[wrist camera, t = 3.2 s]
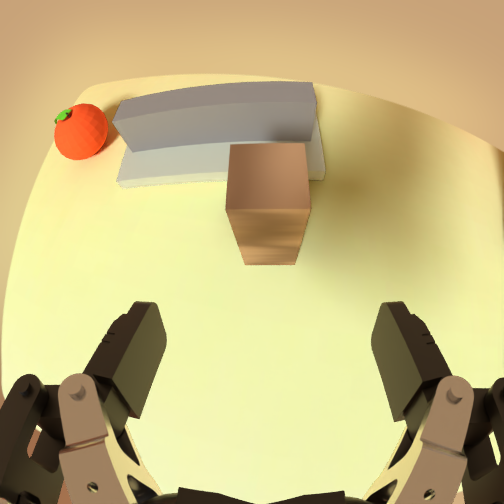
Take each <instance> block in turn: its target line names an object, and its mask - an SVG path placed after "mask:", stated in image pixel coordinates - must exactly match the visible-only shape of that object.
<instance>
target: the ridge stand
mask: <svg viewBox="0 0 504 504" xmlns="http://www.w3.org/2000/svg"><path fill="white" fill-rule="evenodd" d="M316 105H317V102H316V97H315V93H314V88H313V84H312V82H285V81H271V82H241V83H227V84H216V85H206V86H198V87H190V88H183V89H177V90H171V91H165V92H160V93H155V94H150V95H145V96H140V97H136V98H132V99H128V100H124V101H121V103H120V105H119V107H118V110H117V112H116V114H115V116H114V118H113V121H112V123H113V124H114V126H115V127H116V129H117V130H118V132H119V133H120V135H121V136H122V138H123V139H124V141H125V142H126V144H127V148H126V151H125V154H124V157H123V160H122V163H121V167H120V170H119V174H118V177H117V181H116V182H117V183H118V184H119V185H120V186H121V187H122V189H126V188H135V187H145V186H155V185H167V184H180V183H195V182H212V181H227V180H228V166H229V154H230V144H254V143H305V151H306V160H307V169H308V179H309V180H323V179H324V176H325V172H326V169H325V162H324V156H323V149H322V143H321V137H320V131H319V126H318V120H317V115H316Z"/></svg>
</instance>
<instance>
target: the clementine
mask: <svg viewBox="0 0 504 504" xmlns="http://www.w3.org/2000/svg"><path fill="white" fill-rule="evenodd" d="M57 119H59V120H58V123H57ZM55 123H56V124H57V125H56V128H55V135H54V137H55V143H56V147H57V148H58V150H59V151H60V153H61V154H62V155H64V156H65V157H67V158H69V159H72V160H83V159H87V158H89V157H91V156H92V155H94V154H95V153H96V152H97V151H98V150H99V149H100V148H101V147H102V146H103V144H104V142H105V140H106V137H107V133H108V122H107V119H106V117H105V115H104V113H103V112H102V111H101V110H100V109H99V108H98V107H96V106H94V105H92V104H79V105H75V106H73V107H71V108H69V109H68V110H64V111H62V112H61V113H60V114H59V115H58V116H57V118H56V119H55Z"/></svg>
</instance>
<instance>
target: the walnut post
mask: <svg viewBox="0 0 504 504" xmlns="http://www.w3.org/2000/svg"><path fill="white" fill-rule="evenodd" d="M225 210H226V213H227V215H228V218H229V221H230V224H231V227H232V230H233V232H234V235H235V238H236V241H237V244H238V246H239V249H240V252H241V255H242V258H243V260H244V263H245V265H295V262H296V259H297V256H298V252H299V249H300V246H301V242H302V239H303V235H304V232H305V229H306V225H307V222H308V218H309V215H310V211H311V202H310V190H309V179H308V169H307V160H306V151H305V143H254V144H230V154H229V166H228V180H227V194H226V209H225Z"/></svg>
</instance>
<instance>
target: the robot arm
mask: <svg viewBox="0 0 504 504" xmlns="http://www.w3.org/2000/svg"><path fill="white" fill-rule="evenodd" d="M166 343H167V337H166V332H165V329H164V326H163V322H162V319H161V316H160V312H159V309H158V306H157V304H156V303H154V302H140V301H136V302H134V303H133V305H132V307H131V308H130V310H129V311H128V313H127V314H122V315H121V316H120V317H119V318H118V319H116V320H115V321H114V322H113V323H112V325H111V326H110V328H109V329H108V331H107V334H105V336H104V338H103V339H102V343H101V342H100V344H99V346H98V347H97V349H96V351H95V352H94V354H93V356H92V358H91V359H90V361H89V363H88V364H87V366H86V368H85V370H84V371H83V373H82V374H81V373H79V374H73V375H71V376H69V377H67V378H66V379H65V380H64V381H63V382H62V383H61V385H43V384H42V382H41V381H40V380H39V379H38V377H37V376H35V375H33V374H26V375H23V376H21V377H20V378H19V379H18V380H17V381H16V382H15V383H14V385H13V387H12V389H11V390H10V392H9V394H8V396H7V398H6V400H5V401H4V403H3V405H2V407H1V409H0V504H57V502H58V499H59V495H60V491H61V488H62V484H63V480H65V483H66V487H67V490H68V493H69V496H70V499H71V502H72V504H254V503H250V502H246V501H242V500H239V499H235V498H232V497H229V496H225V495H222V494H219V493H213V492H205V491H198V490H192V489H187V488H181V487H179V489H178V493H171V494H164V495H163V494H162V492H161V490H160V488H159V486H158V485H157V483H156V482H155V480H154V479H153V477H152V476H151V475H150V474H149V472H148V471H147V469H146V468H145V466H144V464H143V462H142V459H141V457H140V455H139V453H138V451H137V448H136V446H135V444H134V441H133V439H132V436H131V434H130V431H129V429H128V427H127V425H126V421H127V419H128V416H129V417H133V418H137V419H140V416H141V413H142V410H143V408H144V405H145V402H146V399H147V396H148V394H149V391H150V388H151V386H152V383H153V380H154V377H155V375H156V372H157V369H158V367H159V364H160V362H161V359H162V356H163V354H164V351H165V348H166ZM371 346H372V351H373V354H374V357H375V360H376V363H377V366H378V369H379V372H380V375H381V378H382V382H383V385H384V388H385V391H386V395H387V398H388V402H389V405H390V409H391V412H392V416H393V420H394V422H397V421H401V420H405V421H406V424H407V426H406V427H405V429H404V431H403V433H402V435H401V437H400V439H399V441H398V443H397V445H396V447H395V449H394V451H393V453H392V455H391V457H390V459H389V461H388V463H387V464H386V466H385V468H384V470H383V471H382V473H381V474H380V476H379V477H378V478H377V479H376V480H375V481H374V483H373V484H372V485H371V487H370V488H369V489H368V491H367V492H366V494H365V495H364V497H363V498H362V499H358V498H353V497H345V492H344V491H337V492H330V493H321V494H310V495H302V496H299V497H295V498H291V499H287V500H283V501H279V502H274V503H269V504H452V503H453V501H454V498H455V496H456V493H457V491H458V488H459V486H460V483H461V481H462V487H463V493H464V501H465V504H504V378H499V379H498V380H496V381H495V383H494V384H493V385H492V386H491V388H472V387H471V385H470V384H469V383H468V382H467V381H466V380H465V379H463V378H461V377H459V376H453V375H452V373H451V371H450V369H449V367H448V365H447V363H446V361H445V359H444V357H443V355H442V354H441V352H440V350H439V348H438V346H437V344H435V340H434V339H433V337H432V335H430V332H429V330H428V328H427V326H426V325H425V323H424V322H423V321H422V320H421V319H420V318H419V317H417V316H416V315H415V314H410V312H409V311H408V309H407V307H406V305H405V304H404V303H403V302H402V301H398V302H384V303H382V304H381V306H380V309H379V313H378V316H377V319H376V323H375V326H374V329H373V332H372V337H371ZM36 425H38V426H39V427H40V428H41V429H42V431H41V433H40V436H39V439H38V441H37V443H36V446H35V449H34V451H33V454H32V456H31V457H30V458H29V456H28V454H27V447H28V444H29V442H30V439H31V437H32V435H33V432H34V430H35V428H36ZM493 431H494V434H495V437H496V441H497V444H498V447H499V451H500V455H501V460H500V463H499V465H497V463H496V460H495V456H494V452H493V448H492V445H491V441H490V438H489V435H490V434H491V433H492V432H493Z"/></svg>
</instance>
